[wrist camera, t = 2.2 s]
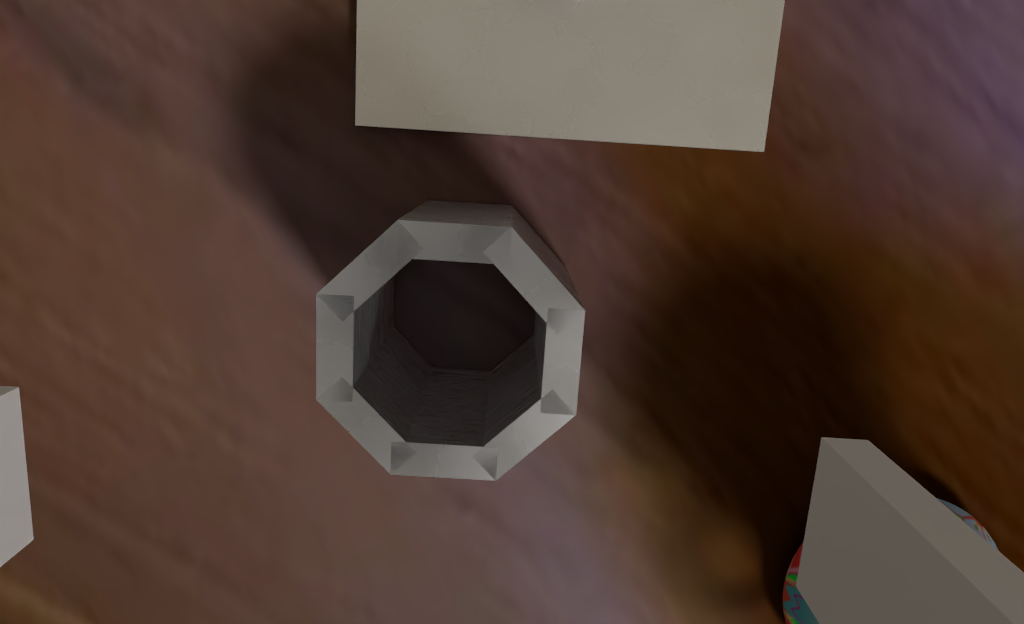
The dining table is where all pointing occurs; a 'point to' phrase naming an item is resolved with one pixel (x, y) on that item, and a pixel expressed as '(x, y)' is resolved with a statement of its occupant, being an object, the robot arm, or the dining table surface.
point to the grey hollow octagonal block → (441, 391)
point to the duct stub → (572, 69)
